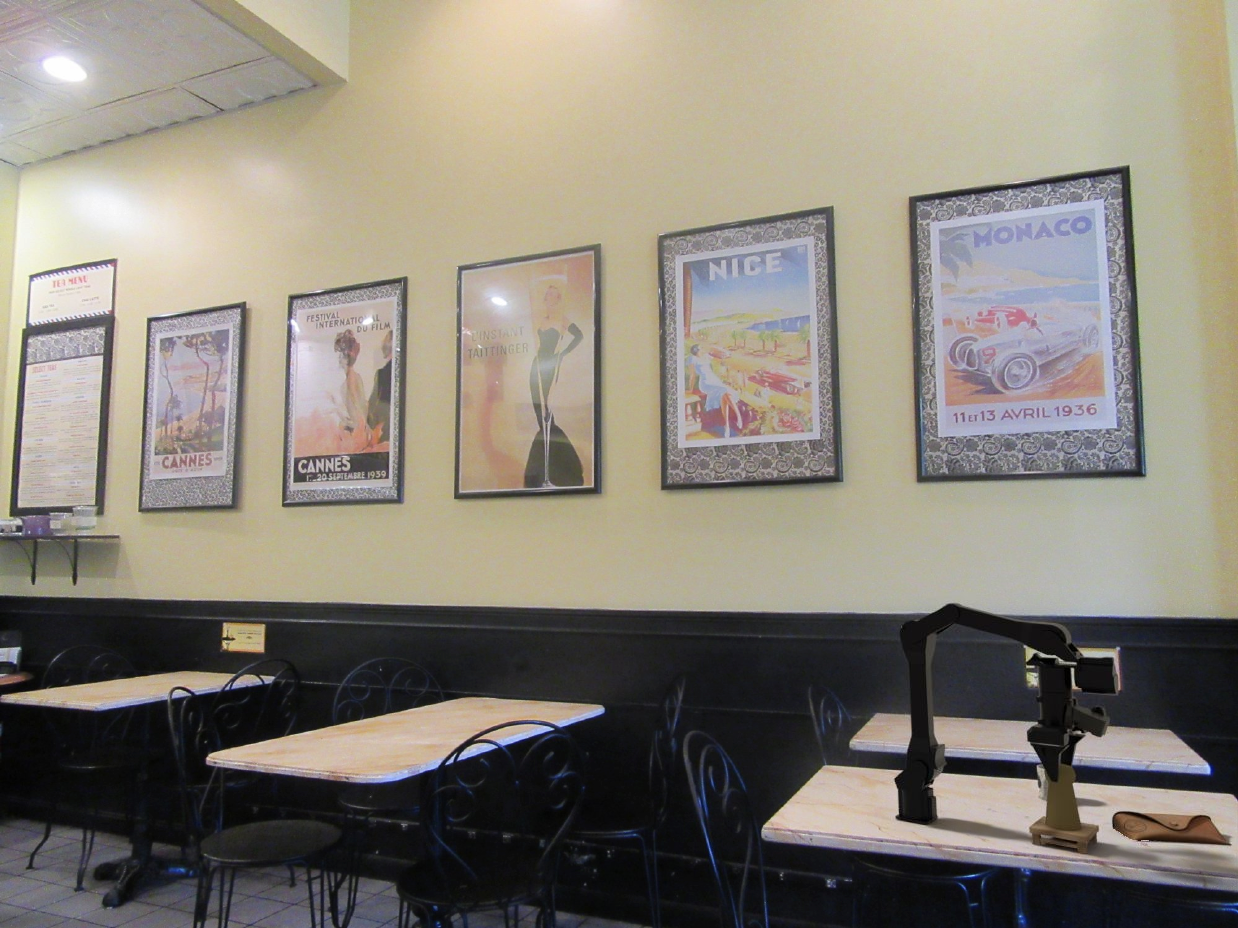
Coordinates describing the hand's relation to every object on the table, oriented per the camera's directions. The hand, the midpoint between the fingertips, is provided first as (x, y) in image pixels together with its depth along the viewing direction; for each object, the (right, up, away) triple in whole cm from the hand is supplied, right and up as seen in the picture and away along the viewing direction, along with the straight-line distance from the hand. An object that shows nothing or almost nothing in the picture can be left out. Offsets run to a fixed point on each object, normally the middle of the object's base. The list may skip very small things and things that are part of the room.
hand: (1061, 777), depth 161 cm
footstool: (0, -12, -1) cm, 12 cm away
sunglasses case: (+22, -13, +3) cm, 26 cm away
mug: (+13, -16, +29) cm, 36 cm away
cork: (0, -9, -1) cm, 9 cm away
